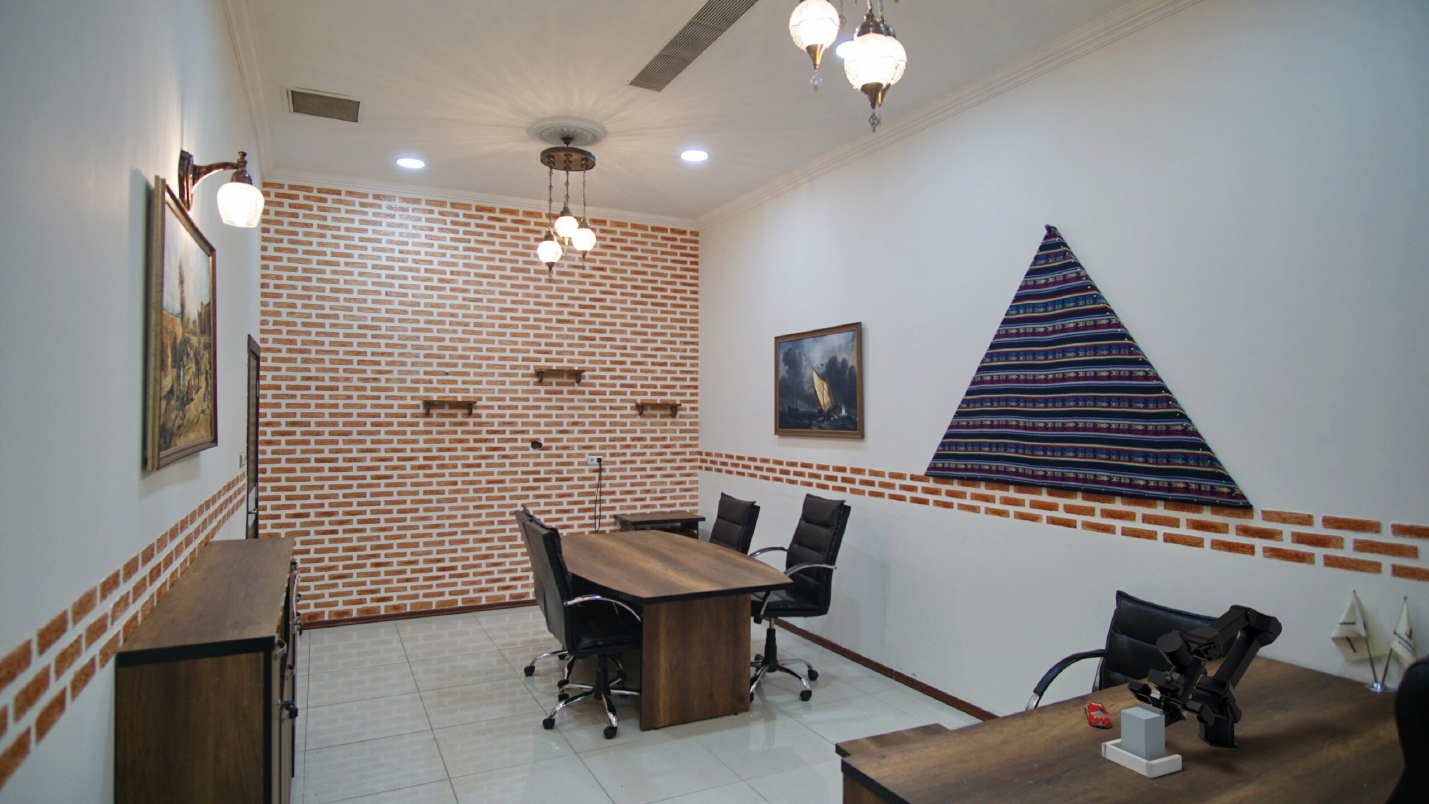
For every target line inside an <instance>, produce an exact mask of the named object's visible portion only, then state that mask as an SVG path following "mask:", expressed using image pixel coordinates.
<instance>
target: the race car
mask: <svg viewBox="0 0 1429 804" xmlns="http://www.w3.org/2000/svg"><path fill="white" fill-rule="evenodd" d="M1085 702H1086V703H1085V706H1084V713H1085V716H1086V719H1087V721H1088V724H1089V726H1093V727H1095V728H1096V727H1098V728H1111V719H1110V716H1109V715H1110V712H1109V711H1108V712H1107V709H1106V707H1105V705H1104V704H1103V703H1102V702H1096V701H1085Z"/></svg>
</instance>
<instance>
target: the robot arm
mask: <svg viewBox="0 0 1429 804" xmlns="http://www.w3.org/2000/svg"><path fill="white" fill-rule="evenodd" d="M1282 631H1283V625H1282V623H1281V622H1280V621H1279V619H1278V618H1277V617H1276V616H1274V615H1269V614H1265V613H1262V612H1260V611H1258V610H1256V609H1254V608H1253V607H1250V606H1245V605H1239V604H1232V605H1230V607H1229V609H1228V610H1227V611H1226V612H1225V613H1223V614H1222V615H1220V616H1219V617H1218V618H1216V619H1215V620H1214V621H1212V622H1211V623H1210V624H1208V625H1207V626H1205V627H1199V628H1194V629H1192V630H1189V631H1187V632H1186V633H1185V634H1183V633H1182V631H1180V630H1176V629H1172V630H1171V632H1167V633H1164V634H1162V635H1161V636H1159V637H1157V640H1156V647H1157V649H1158V650H1159V652H1160V653H1161V654H1162V656H1163V657H1164V658H1165V659H1166V661H1167V663H1169V664H1170V665H1171V666H1172V668H1171V669H1170V671H1168V670H1166V671H1164V672H1163V671H1160V670H1157V669H1154V668H1150V669H1149V670H1148V675H1147V680H1146V682H1148V683H1151V684H1154V688H1155V689H1156V690H1154V689H1152V688H1151V686H1149V684H1148V683H1146V682H1143V681H1140V680H1137V679H1132V680H1130V681H1129V683H1127V686H1126V688H1127V689H1128V691H1129V692H1130V693H1131V694H1132V695H1133V697H1134V698H1135V700H1137V701H1139V703H1140V702H1142V703H1144V704H1147V705H1151V706H1153V707H1155V708H1158V709H1161V710H1163V714H1164V715H1165V729H1166V728H1168V727H1169V726H1171V725H1174V724H1175V723H1178V722H1180V721H1186V720H1187V717H1186V715H1187V714H1188V713H1189V714H1193V715H1196V717H1195V718H1196V720H1197V722H1198V723H1199V726H1198V727H1199V731H1198V733H1197V736H1198V737H1200V739H1202V740H1203V741H1205V742H1206V743H1207V744H1208V745H1210V746H1212V747H1230V748H1232V747H1233V748H1238V747H1239V744H1238V743H1237V742H1236V741H1235V724H1237V725H1238V724H1240V723H1239V722H1242V721H1241V720H1242V715H1243V711H1241V709H1240V707H1239V706H1238V705H1237V704H1236V702H1237V697H1236V691H1235V689H1236V687H1237V686H1238V684H1239V683H1240V681H1241V679H1242V678H1243V676H1244V674H1245V673H1246V671H1247V670H1248V668H1249V666H1250V665H1251V663H1253V660H1254V659H1255V657H1256V655H1257V654H1258V653H1259V651H1260V649H1262V648H1263V647H1266V646H1269V645H1272V644H1273V643H1274V642H1276V640H1277V639H1278V638H1279V637H1280V635H1281V634H1282ZM1237 633H1239V636H1238V637H1237V639H1236V641H1235V642H1234V643H1233V645H1232V646H1231V649H1230V650H1229V651H1228V653H1227V654H1226V655H1225V657H1224V659H1223V661H1221V664H1220V665H1219V667H1218V668H1217V670H1216V671H1215V673H1214V674H1213V675H1212V676H1210V675H1208V669H1207V668H1206V663H1204V662H1202V661H1201V660H1205V661H1209V662H1213V661H1216V660H1217V658H1218V657H1219V656H1220V655H1222V653H1223V651H1224V650H1223V645H1224V644H1225V643H1226V642H1227V641H1229V640H1230V639H1231V638H1233V636H1235V635H1236V634H1237ZM1200 659H1201V660H1200ZM1157 690H1158V691H1157ZM1190 696H1191V697H1190Z"/></svg>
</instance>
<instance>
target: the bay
mask: <svg viewBox="0 0 1429 804" xmlns="http://www.w3.org/2000/svg"><path fill="white" fill-rule="evenodd" d="M1101 757H1103V758H1105V759H1107V760H1109V761H1112V762H1113V763H1116V764H1119V765H1121V766H1123V767H1124V768H1127V769H1129V770H1132V771H1134V772H1136V773H1138V774H1141V775H1142V776H1144V777H1147V778H1149V779H1153V778H1157V777H1160V776H1165V775H1168V774H1170V773H1174V772H1177V771H1181V770H1183V769H1182V765H1183V764H1182V761H1183V760H1182V759H1183V758H1182V755H1180V754H1177V753H1176V754H1172V755H1169V756H1165V757H1164V758H1160V759H1157V760H1153V761H1147V760H1145V759H1142V758H1140V757H1138V756H1135V755H1133V754H1131V753H1128V752H1126V751H1124V750H1121V738H1118V739H1114V740H1113V739H1112V740H1110V741H1106V742H1102V743H1101Z"/></svg>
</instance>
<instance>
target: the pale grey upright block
mask: <svg viewBox="0 0 1429 804" xmlns="http://www.w3.org/2000/svg"><path fill="white" fill-rule="evenodd" d="M1165 729H1166V728H1165V715H1164V714H1163V710H1161V709H1158V708H1155V707H1153V706H1152V705H1151V704H1146V703H1143V702H1140V701H1139V702H1137V706H1135V707H1131V708H1126V709H1121V710H1120V739H1121V750H1124V751H1126V752H1128V753H1131V754H1133V755H1135V756H1138V757H1140V758H1142V759H1145V760H1147V761H1153V760H1157V759H1160V758H1164V757H1166V735H1165V734H1166V730H1165Z"/></svg>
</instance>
